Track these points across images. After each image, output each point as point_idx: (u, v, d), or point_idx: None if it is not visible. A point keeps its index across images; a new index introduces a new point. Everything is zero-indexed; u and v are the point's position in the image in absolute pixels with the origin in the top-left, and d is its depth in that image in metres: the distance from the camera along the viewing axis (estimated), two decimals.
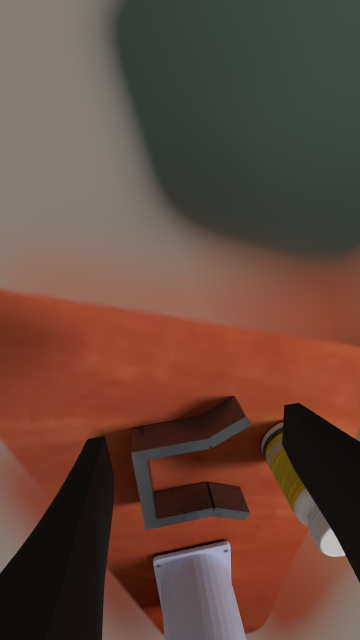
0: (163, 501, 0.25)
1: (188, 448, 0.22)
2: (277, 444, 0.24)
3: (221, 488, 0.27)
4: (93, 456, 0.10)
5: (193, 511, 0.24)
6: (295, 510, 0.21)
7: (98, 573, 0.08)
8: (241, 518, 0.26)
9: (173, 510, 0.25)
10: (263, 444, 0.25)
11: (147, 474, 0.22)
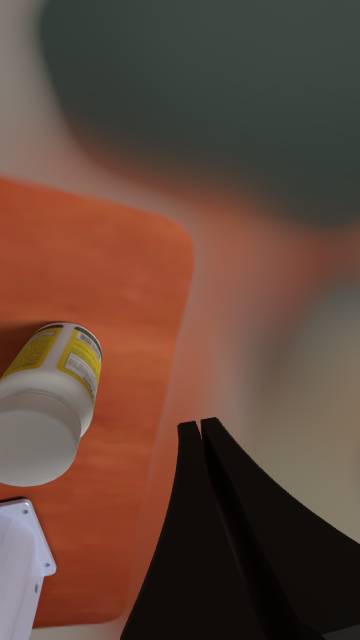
0: None
1: None
2: None
3: None
4: (195, 438, 0.10)
5: None
6: None
7: None
8: None
9: None
10: None
11: None
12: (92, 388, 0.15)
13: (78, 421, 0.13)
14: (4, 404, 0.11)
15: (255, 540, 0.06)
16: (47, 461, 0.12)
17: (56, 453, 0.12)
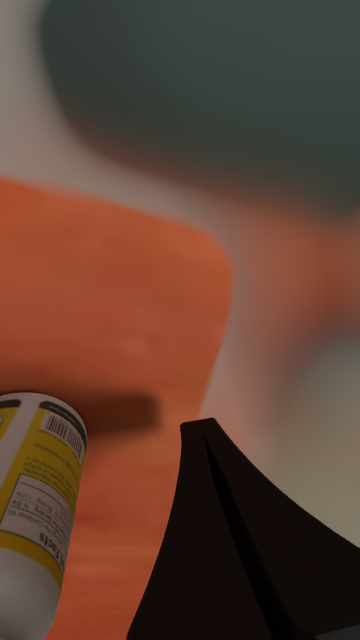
0: None
1: None
2: None
3: None
4: (198, 437, 0.10)
5: None
6: None
7: None
8: None
9: None
10: None
11: None
12: (60, 546, 0.08)
13: None
14: None
15: (250, 541, 0.06)
16: None
17: None
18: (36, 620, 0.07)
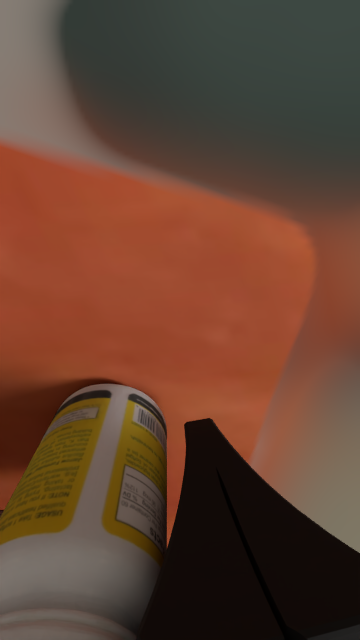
0: None
1: None
2: (48, 429, 0.10)
3: None
4: (202, 436, 0.10)
5: None
6: None
7: None
8: None
9: None
10: None
11: None
12: (164, 542, 0.08)
13: None
14: None
15: (245, 542, 0.06)
16: None
17: None
18: None
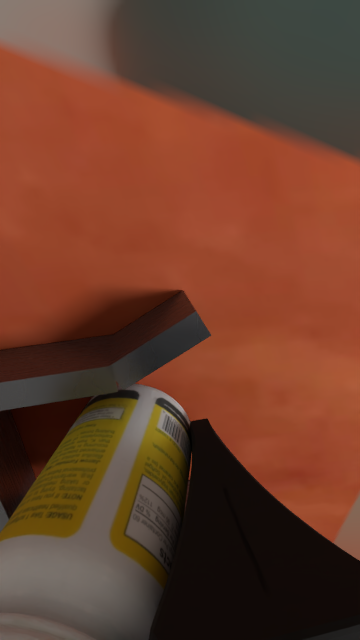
0: None
1: (64, 389, 0.09)
2: (75, 422, 0.10)
3: None
4: (208, 435, 0.10)
5: None
6: None
7: None
8: None
9: None
10: None
11: None
12: None
13: None
14: None
15: None
16: None
17: None
18: None
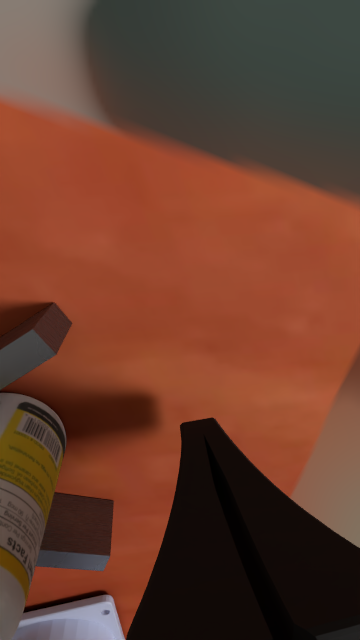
0: None
1: None
2: None
3: (68, 503, 0.14)
4: (198, 437, 0.10)
5: None
6: None
7: None
8: (94, 567, 0.12)
9: None
10: None
11: None
12: (28, 550, 0.08)
13: None
14: None
15: (250, 541, 0.06)
16: None
17: None
18: None
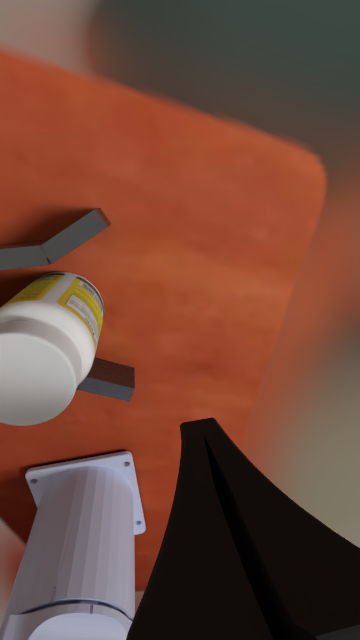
0: None
1: (12, 260, 0.14)
2: None
3: (103, 363, 0.20)
4: (198, 437, 0.10)
5: None
6: None
7: None
8: (123, 397, 0.18)
9: None
10: None
11: None
12: (94, 332, 0.14)
13: (79, 359, 0.12)
14: None
15: (250, 541, 0.06)
16: (43, 397, 0.11)
17: (53, 388, 0.11)
18: (84, 352, 0.13)
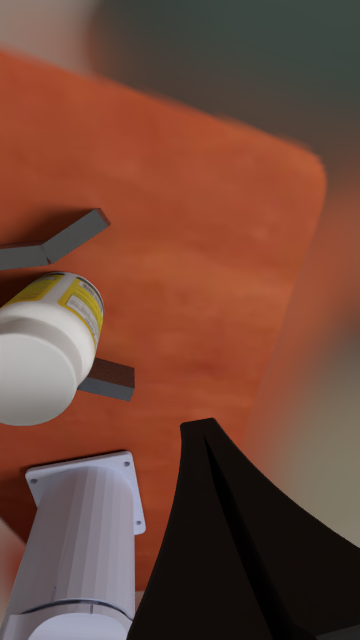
0: None
1: (12, 260, 0.14)
2: None
3: (103, 363, 0.20)
4: (198, 437, 0.10)
5: None
6: None
7: None
8: (123, 397, 0.18)
9: None
10: None
11: None
12: (94, 333, 0.14)
13: (80, 359, 0.12)
14: None
15: (250, 541, 0.06)
16: (44, 397, 0.11)
17: (53, 388, 0.11)
18: (85, 352, 0.13)
